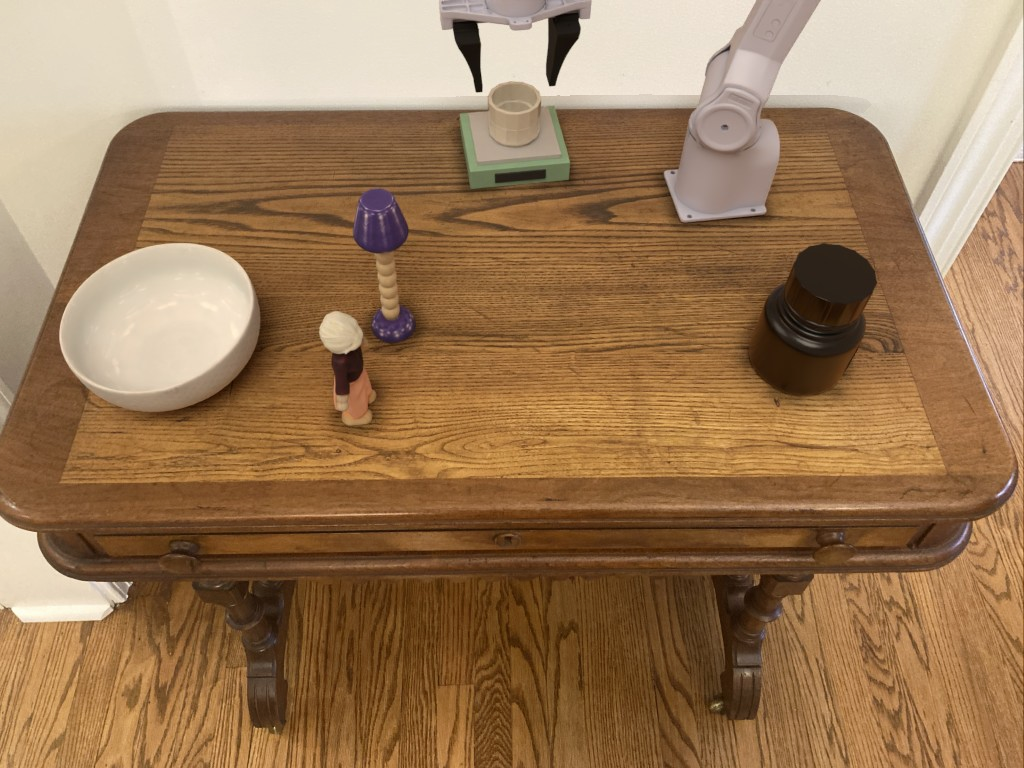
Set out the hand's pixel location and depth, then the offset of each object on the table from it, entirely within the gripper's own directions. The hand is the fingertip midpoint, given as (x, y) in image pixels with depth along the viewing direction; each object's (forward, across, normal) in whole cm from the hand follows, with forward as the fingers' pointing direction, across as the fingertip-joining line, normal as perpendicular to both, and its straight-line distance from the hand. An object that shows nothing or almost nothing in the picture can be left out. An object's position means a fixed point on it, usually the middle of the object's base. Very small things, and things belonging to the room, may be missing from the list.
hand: (514, 83), depth 89 cm
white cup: (+6, 0, 0) cm, 7 cm away
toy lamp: (+10, -15, -23) cm, 29 cm away
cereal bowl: (+10, -35, -24) cm, 44 cm away
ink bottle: (+10, +22, -32) cm, 40 cm away
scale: (+10, 0, 0) cm, 10 cm away
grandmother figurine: (+10, -19, -32) cm, 39 cm away
